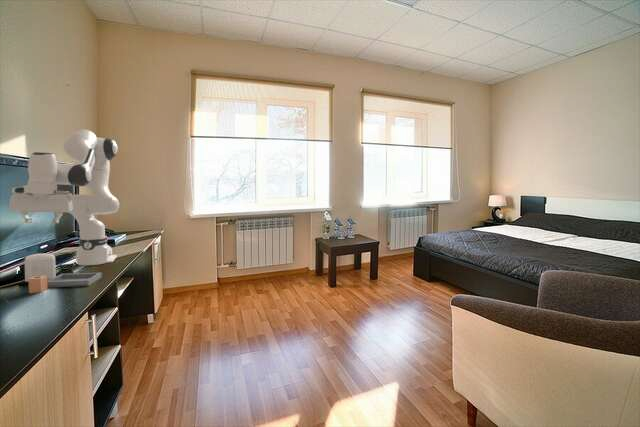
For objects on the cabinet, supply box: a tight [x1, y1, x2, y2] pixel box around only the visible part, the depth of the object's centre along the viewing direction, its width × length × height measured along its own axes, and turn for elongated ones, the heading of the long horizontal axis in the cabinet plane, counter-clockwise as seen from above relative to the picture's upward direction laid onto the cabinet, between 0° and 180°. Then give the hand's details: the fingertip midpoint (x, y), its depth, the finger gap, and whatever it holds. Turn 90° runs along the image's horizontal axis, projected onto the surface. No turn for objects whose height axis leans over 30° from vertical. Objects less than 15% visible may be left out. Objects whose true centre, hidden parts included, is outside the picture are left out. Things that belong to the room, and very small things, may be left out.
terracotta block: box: [28, 276, 48, 294], centre depth 118 cm, size 4×4×6 cm
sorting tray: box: [47, 272, 102, 289], centre depth 130 cm, size 12×16×2 cm
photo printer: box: [24, 253, 57, 283], centre depth 131 cm, size 10×4×12 cm, turn 124°
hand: (42, 222), depth 119 cm, fingers open, 8 cm apart
